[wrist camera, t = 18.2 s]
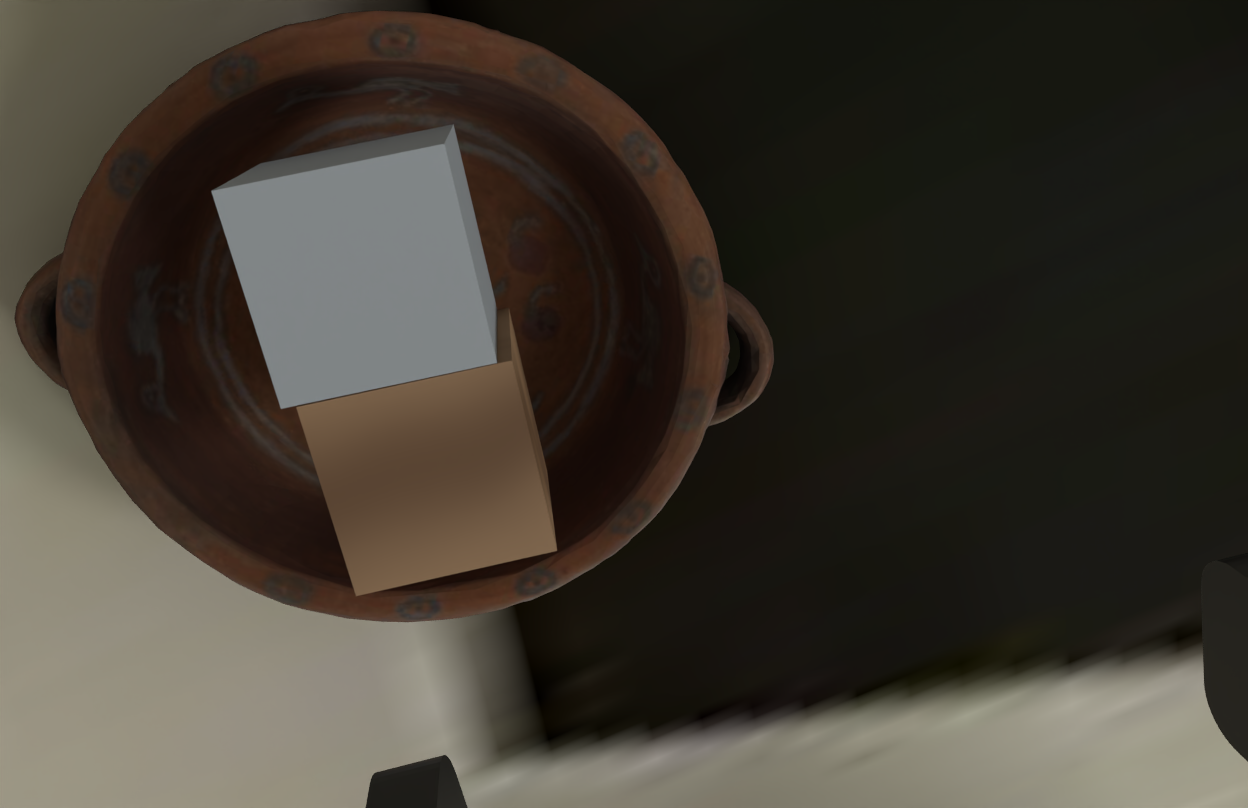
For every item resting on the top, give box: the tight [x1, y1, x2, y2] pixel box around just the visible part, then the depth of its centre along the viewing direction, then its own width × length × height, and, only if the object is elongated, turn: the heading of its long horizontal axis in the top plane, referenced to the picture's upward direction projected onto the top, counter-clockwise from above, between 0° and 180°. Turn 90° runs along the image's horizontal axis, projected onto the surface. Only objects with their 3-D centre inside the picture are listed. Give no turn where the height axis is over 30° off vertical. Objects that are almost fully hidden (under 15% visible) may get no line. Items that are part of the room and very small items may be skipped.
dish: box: [15, 11, 774, 622], centre depth 32 cm, size 17×22×5 cm
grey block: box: [211, 124, 497, 409], centre depth 26 cm, size 5×5×5 cm
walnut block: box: [296, 308, 557, 596], centre depth 28 cm, size 5×5×5 cm
